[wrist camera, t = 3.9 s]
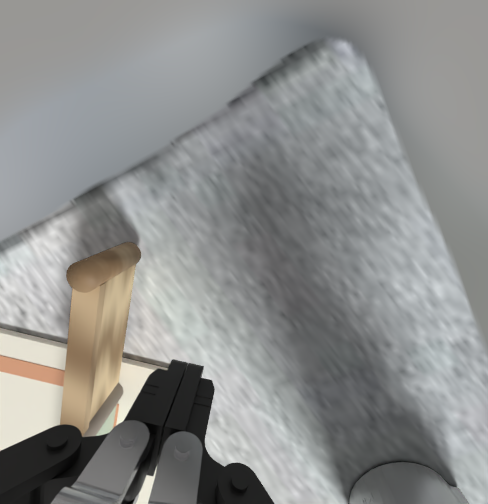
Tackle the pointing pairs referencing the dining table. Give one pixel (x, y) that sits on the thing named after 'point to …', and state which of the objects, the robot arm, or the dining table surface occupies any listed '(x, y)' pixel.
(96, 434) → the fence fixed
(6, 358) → the card
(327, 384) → the dining table surface
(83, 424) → the fence gate
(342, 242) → the dining table surface
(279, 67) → the dining table surface
